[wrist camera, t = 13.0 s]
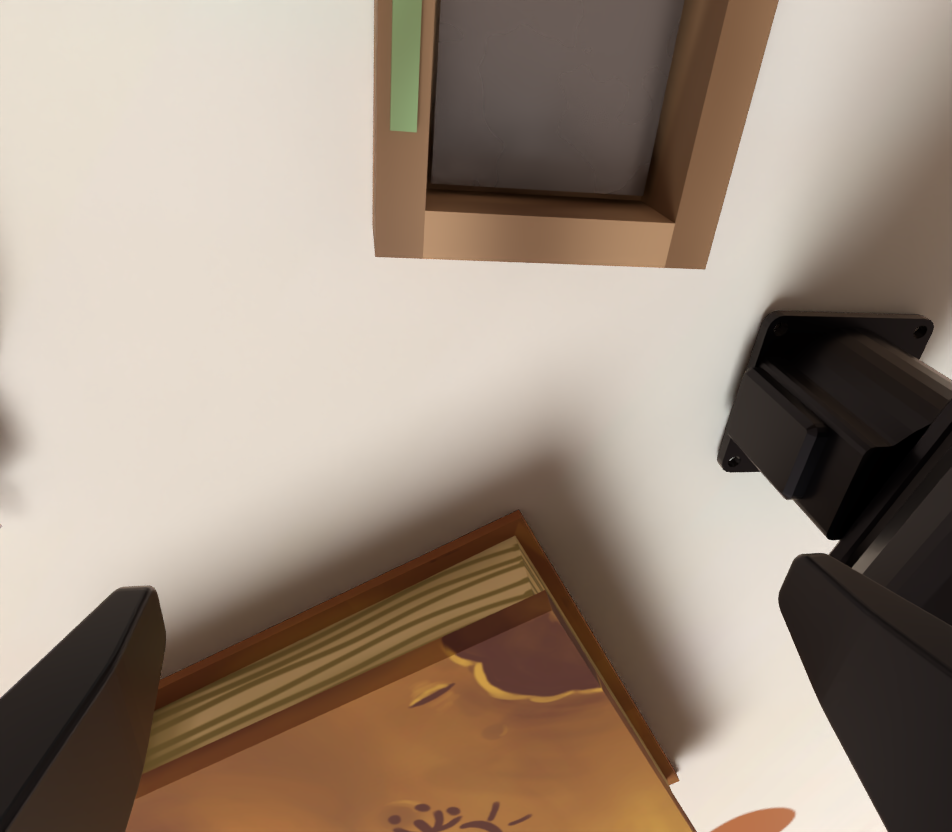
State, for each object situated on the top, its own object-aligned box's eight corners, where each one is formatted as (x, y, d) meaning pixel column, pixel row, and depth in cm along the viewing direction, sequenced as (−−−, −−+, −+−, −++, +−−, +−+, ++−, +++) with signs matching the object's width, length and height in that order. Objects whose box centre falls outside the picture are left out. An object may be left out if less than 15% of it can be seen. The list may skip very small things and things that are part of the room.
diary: (123, 686, 28) (74, 825, 23) (515, 499, 26) (551, 609, 21) (390, 883, 40) (394, 1003, 35) (673, 765, 38) (719, 875, 33)
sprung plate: (684, -62, 16) (698, -66, 16) (633, 189, 19) (643, 195, 19) (442, -95, 15) (445, -100, 14) (428, 177, 18) (431, 183, 18)
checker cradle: (747, -128, 16) (826, -156, 13) (662, 237, 21) (708, 271, 18) (376, -186, 15) (380, -231, 12) (372, 224, 19) (375, 259, 16)
